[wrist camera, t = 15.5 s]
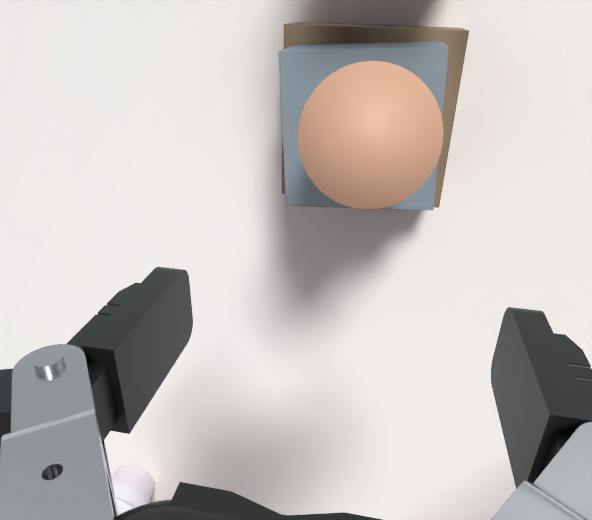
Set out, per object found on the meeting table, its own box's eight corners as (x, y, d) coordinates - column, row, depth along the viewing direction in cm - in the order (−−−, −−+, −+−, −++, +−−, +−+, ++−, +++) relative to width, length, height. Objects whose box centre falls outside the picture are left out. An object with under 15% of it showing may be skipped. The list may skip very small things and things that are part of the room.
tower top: (441, 40, 27) (448, 46, 23) (428, 183, 30) (433, 210, 26) (295, 45, 28) (278, 51, 24) (300, 180, 32) (286, 205, 28)
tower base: (459, 27, 30) (468, 30, 26) (434, 184, 35) (438, 207, 31) (298, 22, 32) (284, 24, 28) (294, 173, 36) (281, 193, 32)
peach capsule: (410, 82, 24) (433, 46, 17) (425, 189, 25) (451, 196, 18) (305, 103, 25) (286, 77, 18) (322, 207, 25) (310, 219, 18)
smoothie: (156, 426, 57) (91, 540, 45) (186, 465, 59) (131, 584, 47) (115, 439, 59) (42, 551, 47) (145, 475, 61) (83, 592, 49)
